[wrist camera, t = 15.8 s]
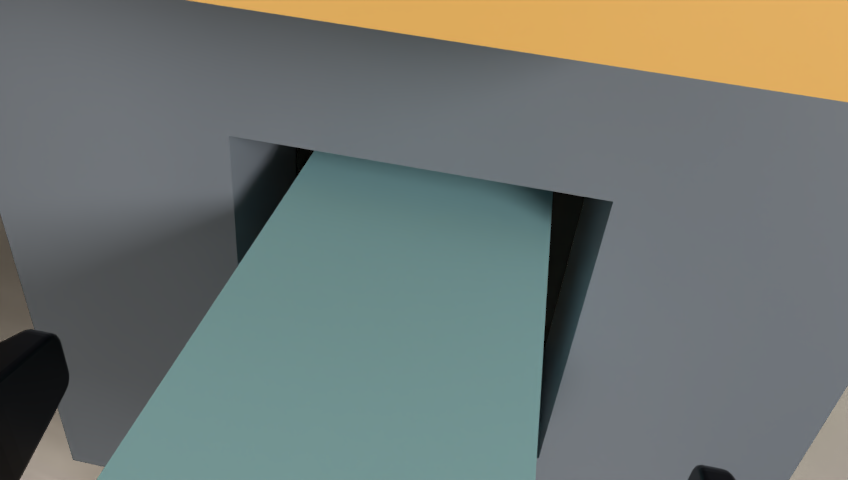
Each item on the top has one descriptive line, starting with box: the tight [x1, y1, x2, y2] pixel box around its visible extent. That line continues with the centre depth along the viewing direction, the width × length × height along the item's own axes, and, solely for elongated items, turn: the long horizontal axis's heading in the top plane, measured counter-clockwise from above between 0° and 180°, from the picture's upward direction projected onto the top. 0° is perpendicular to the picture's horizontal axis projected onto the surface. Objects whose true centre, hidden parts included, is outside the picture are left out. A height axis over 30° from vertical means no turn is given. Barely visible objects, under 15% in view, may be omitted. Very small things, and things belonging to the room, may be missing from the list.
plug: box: [97, 151, 553, 480], centre depth 11 cm, size 4×4×9 cm
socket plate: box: [0, 0, 848, 480], centre depth 11 cm, size 20×14×3 cm
